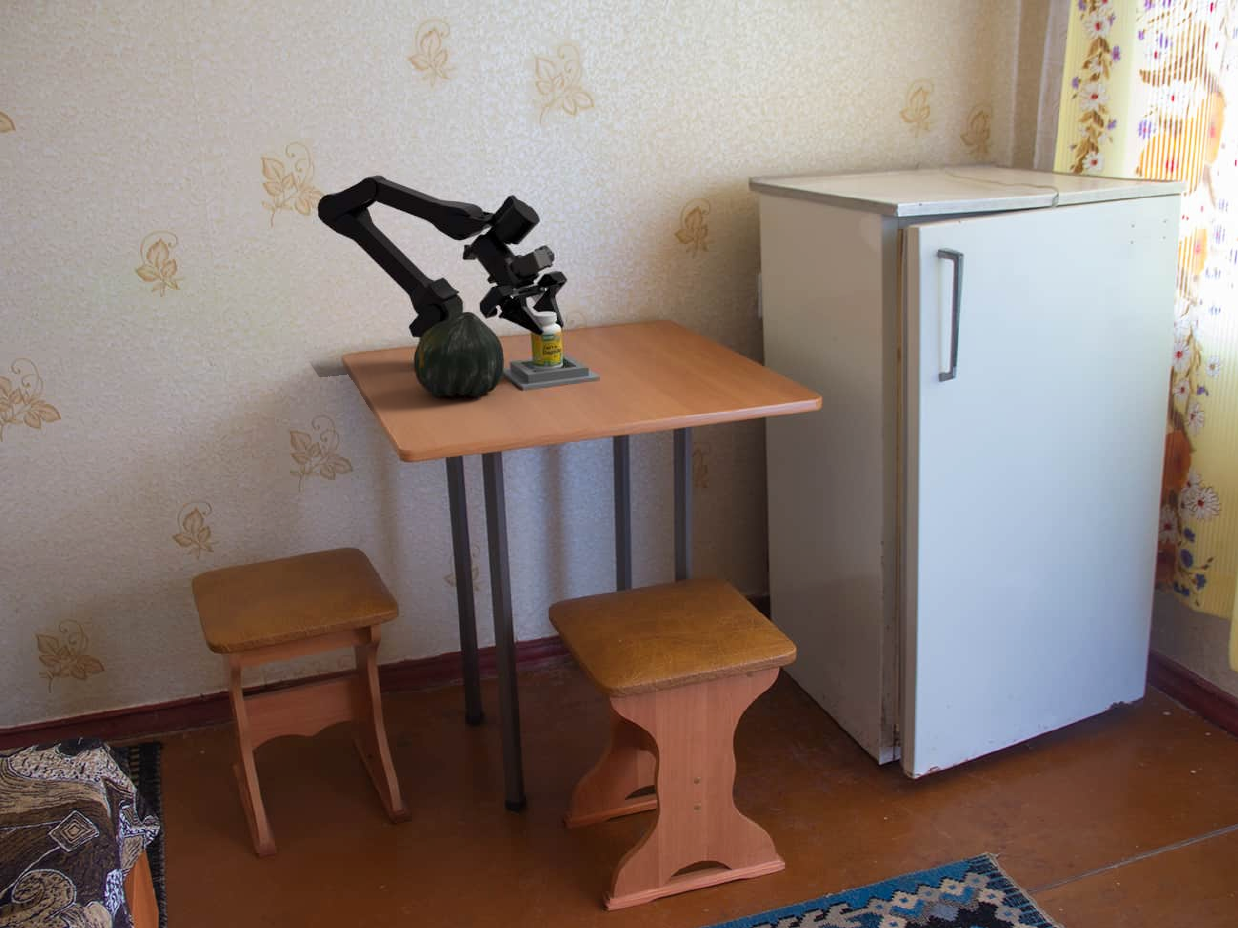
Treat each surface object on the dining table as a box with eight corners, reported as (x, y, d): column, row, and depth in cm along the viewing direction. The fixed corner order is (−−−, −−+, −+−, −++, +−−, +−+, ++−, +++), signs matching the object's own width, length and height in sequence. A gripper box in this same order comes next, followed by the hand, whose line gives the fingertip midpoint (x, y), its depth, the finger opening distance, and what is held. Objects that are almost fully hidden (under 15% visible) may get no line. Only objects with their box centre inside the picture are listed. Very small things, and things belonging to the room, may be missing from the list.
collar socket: (500, 372, 210) (499, 361, 210) (573, 362, 215) (572, 351, 214) (523, 390, 198) (522, 378, 197) (600, 379, 203) (599, 368, 202)
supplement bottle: (553, 361, 210) (550, 309, 206) (568, 367, 205) (566, 313, 202) (527, 366, 207) (524, 313, 204) (542, 372, 203) (539, 318, 199)
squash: (404, 355, 202) (413, 300, 190) (487, 348, 207) (501, 295, 195) (420, 423, 195) (431, 371, 183) (506, 414, 201) (521, 363, 189)
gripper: (487, 239, 193) (542, 311, 191) (556, 225, 208) (608, 292, 205) (456, 282, 200) (508, 352, 198) (525, 266, 215) (574, 331, 212)
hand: (552, 330), depth 203 cm, fingers open, 5 cm apart
